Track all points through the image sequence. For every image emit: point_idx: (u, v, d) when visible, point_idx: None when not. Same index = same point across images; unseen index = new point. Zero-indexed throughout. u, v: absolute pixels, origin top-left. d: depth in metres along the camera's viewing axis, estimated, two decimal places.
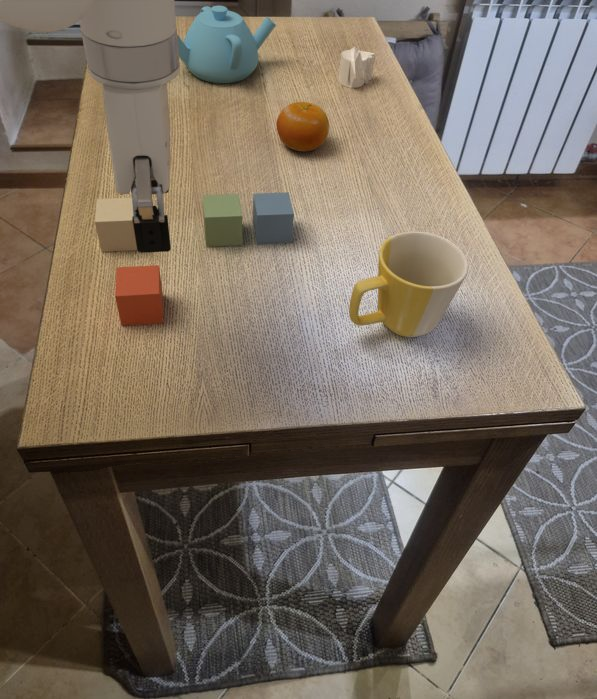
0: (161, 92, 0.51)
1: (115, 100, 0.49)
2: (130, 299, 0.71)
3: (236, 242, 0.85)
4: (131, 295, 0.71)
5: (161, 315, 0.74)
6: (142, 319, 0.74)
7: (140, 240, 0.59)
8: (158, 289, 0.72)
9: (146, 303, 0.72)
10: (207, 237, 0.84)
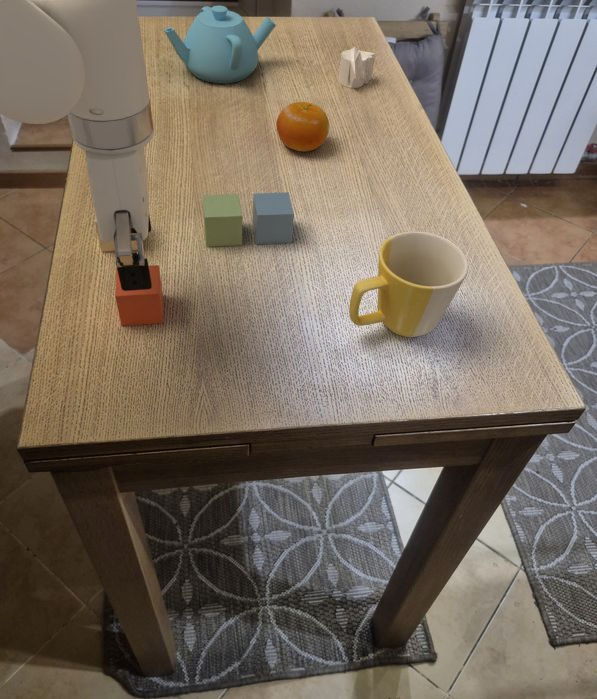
0: (137, 156, 0.57)
1: (95, 165, 0.56)
2: (130, 299, 0.71)
3: (236, 242, 0.85)
4: (131, 295, 0.71)
5: (161, 315, 0.74)
6: (142, 319, 0.74)
7: (124, 281, 0.66)
8: (158, 289, 0.72)
9: (146, 303, 0.72)
10: (207, 237, 0.84)
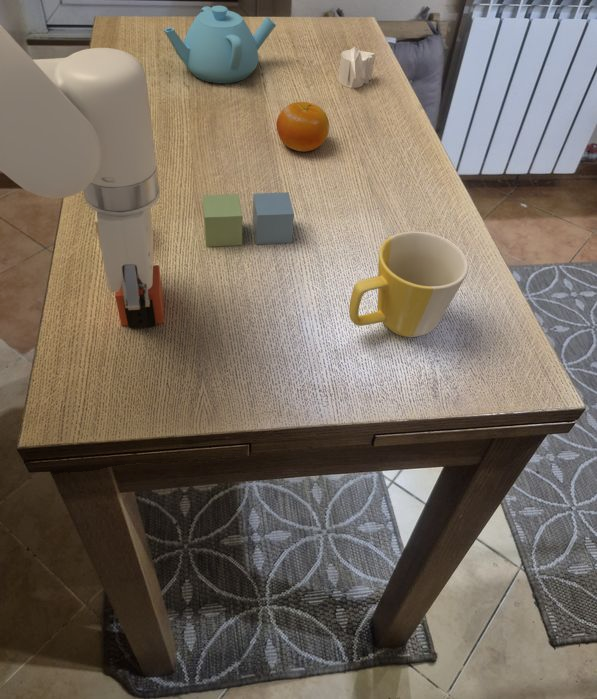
0: (144, 216, 0.62)
1: (106, 225, 0.61)
2: None
3: (236, 242, 0.85)
4: None
5: (161, 315, 0.74)
6: None
7: (131, 319, 0.73)
8: (158, 289, 0.72)
9: None
10: (207, 237, 0.84)
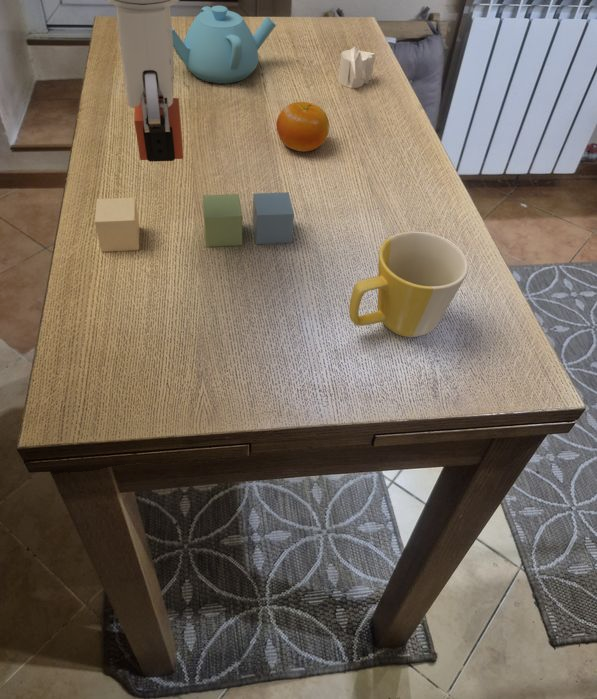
0: (166, 14, 0.60)
1: (127, 19, 0.59)
2: None
3: (236, 242, 0.85)
4: None
5: (181, 148, 0.72)
6: None
7: (150, 150, 0.71)
8: (178, 116, 0.70)
9: None
10: (207, 237, 0.84)
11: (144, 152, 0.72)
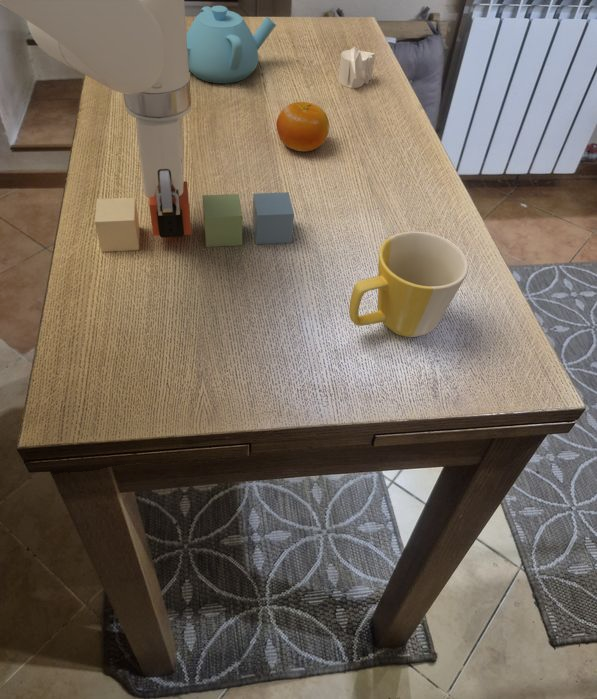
0: (178, 123, 0.70)
1: (145, 130, 0.69)
2: None
3: (236, 242, 0.85)
4: None
5: (189, 226, 0.82)
6: None
7: (162, 228, 0.81)
8: (187, 200, 0.80)
9: None
10: (207, 237, 0.84)
11: (157, 229, 0.81)
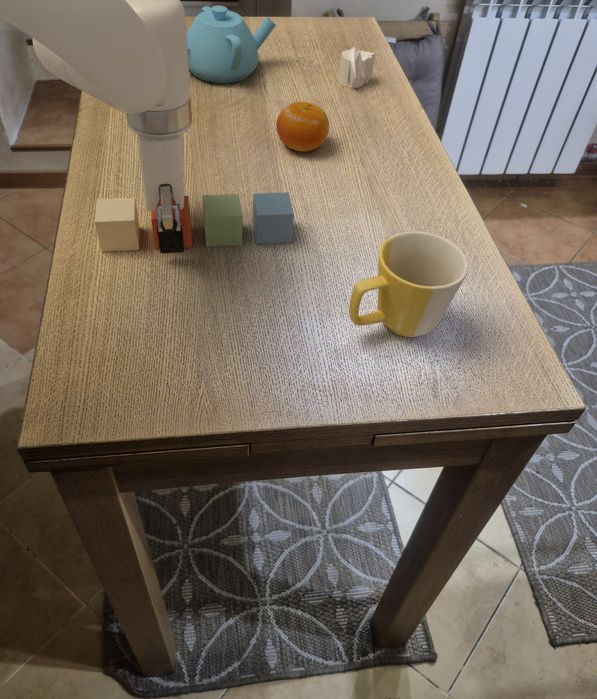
0: (179, 140, 0.71)
1: (147, 146, 0.70)
2: None
3: (236, 242, 0.85)
4: None
5: (190, 239, 0.84)
6: None
7: (162, 244, 0.80)
8: (188, 214, 0.81)
9: None
10: (207, 237, 0.84)
11: None
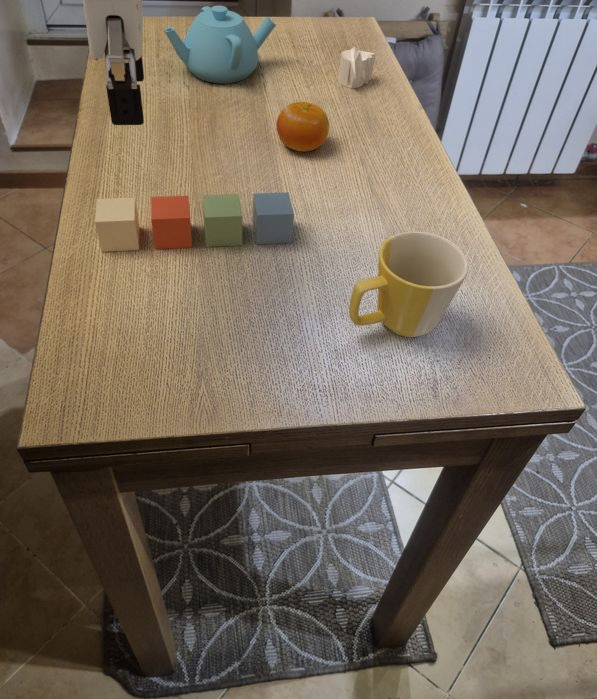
0: None
1: None
2: (164, 223, 0.81)
3: (236, 242, 0.85)
4: (165, 218, 0.80)
5: (190, 239, 0.84)
6: (173, 243, 0.83)
7: (114, 111, 0.62)
8: (188, 214, 0.81)
9: (178, 227, 0.82)
10: (207, 237, 0.84)
11: (159, 243, 0.83)
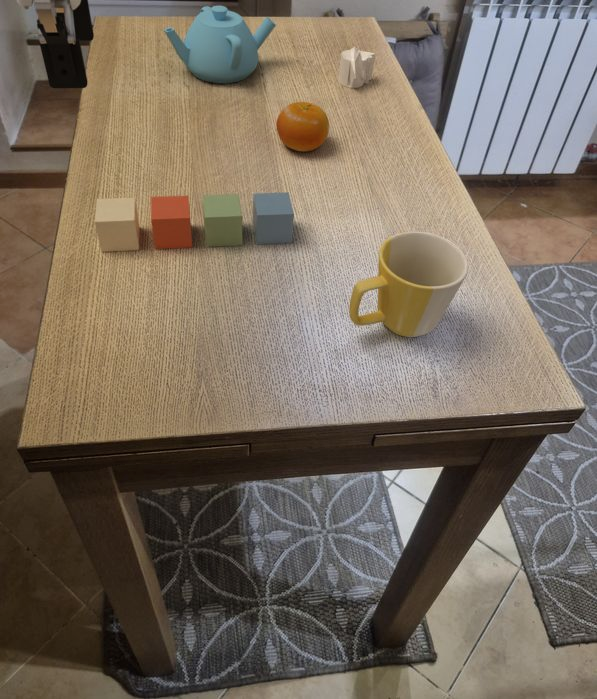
0: None
1: None
2: (164, 223, 0.81)
3: (236, 242, 0.85)
4: (165, 218, 0.80)
5: (190, 239, 0.84)
6: (173, 243, 0.83)
7: (52, 72, 0.53)
8: (188, 214, 0.81)
9: (178, 227, 0.82)
10: (207, 237, 0.84)
11: (159, 243, 0.83)
